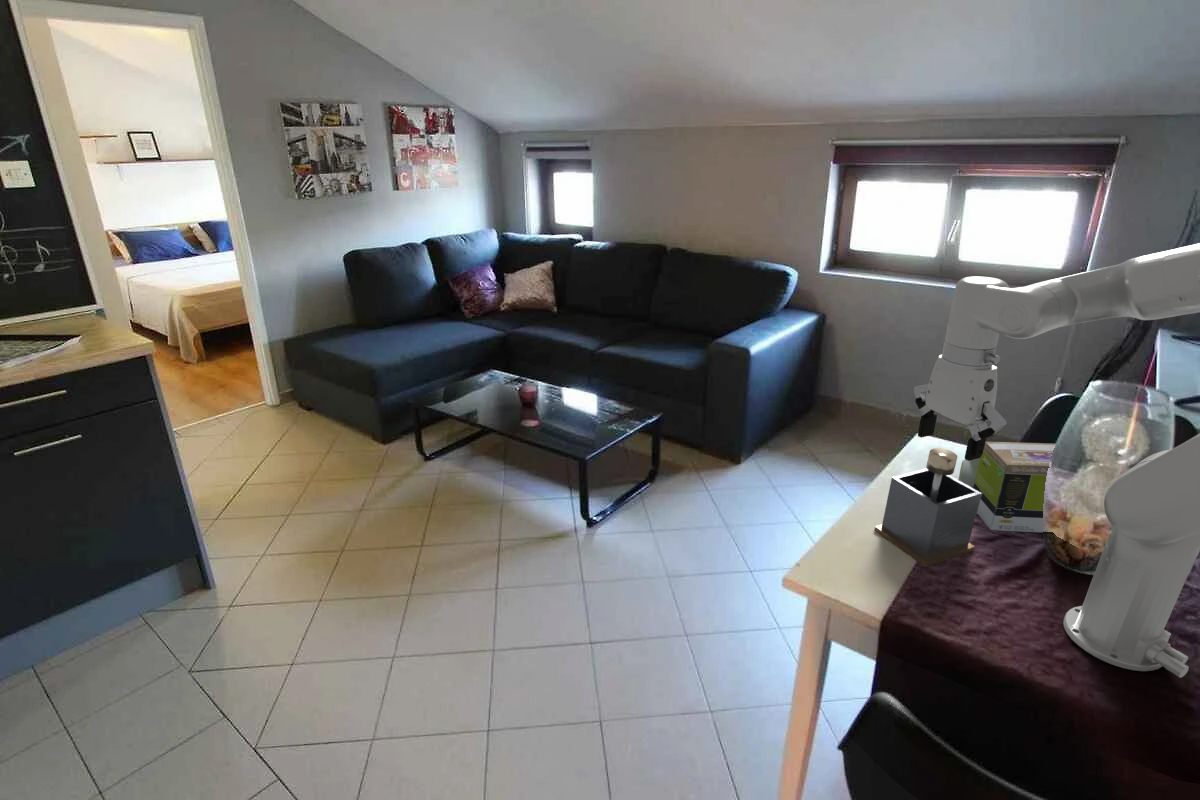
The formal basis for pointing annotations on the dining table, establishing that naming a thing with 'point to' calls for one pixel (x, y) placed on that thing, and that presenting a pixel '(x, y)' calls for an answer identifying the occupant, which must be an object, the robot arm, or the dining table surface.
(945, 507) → the press housing
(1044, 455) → the tea box
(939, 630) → the dining table surface
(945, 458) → the plunger
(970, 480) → the air freshener
